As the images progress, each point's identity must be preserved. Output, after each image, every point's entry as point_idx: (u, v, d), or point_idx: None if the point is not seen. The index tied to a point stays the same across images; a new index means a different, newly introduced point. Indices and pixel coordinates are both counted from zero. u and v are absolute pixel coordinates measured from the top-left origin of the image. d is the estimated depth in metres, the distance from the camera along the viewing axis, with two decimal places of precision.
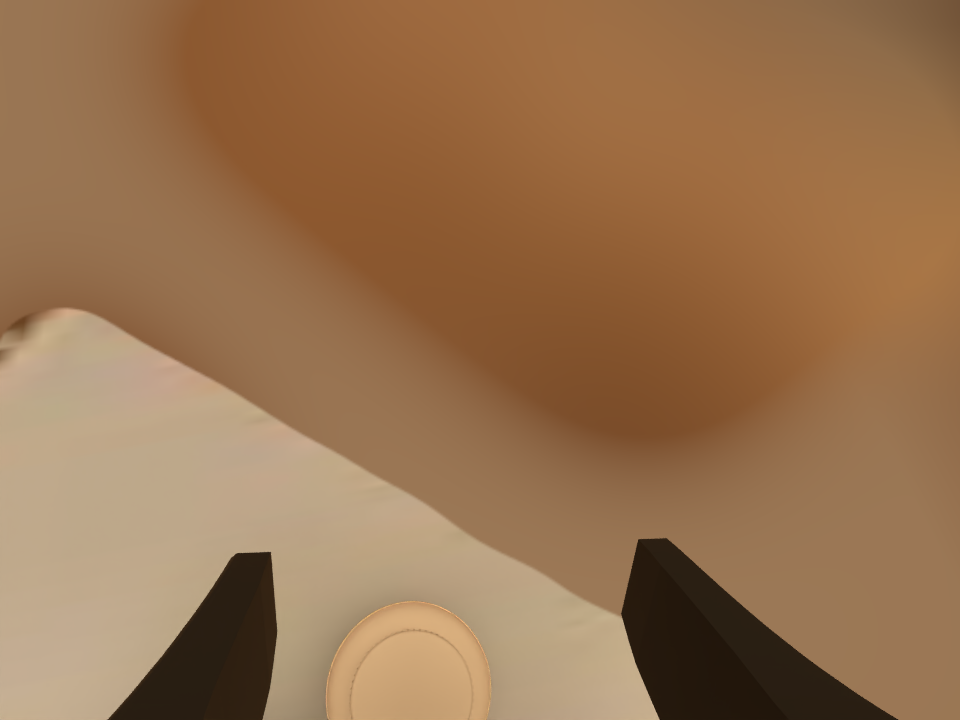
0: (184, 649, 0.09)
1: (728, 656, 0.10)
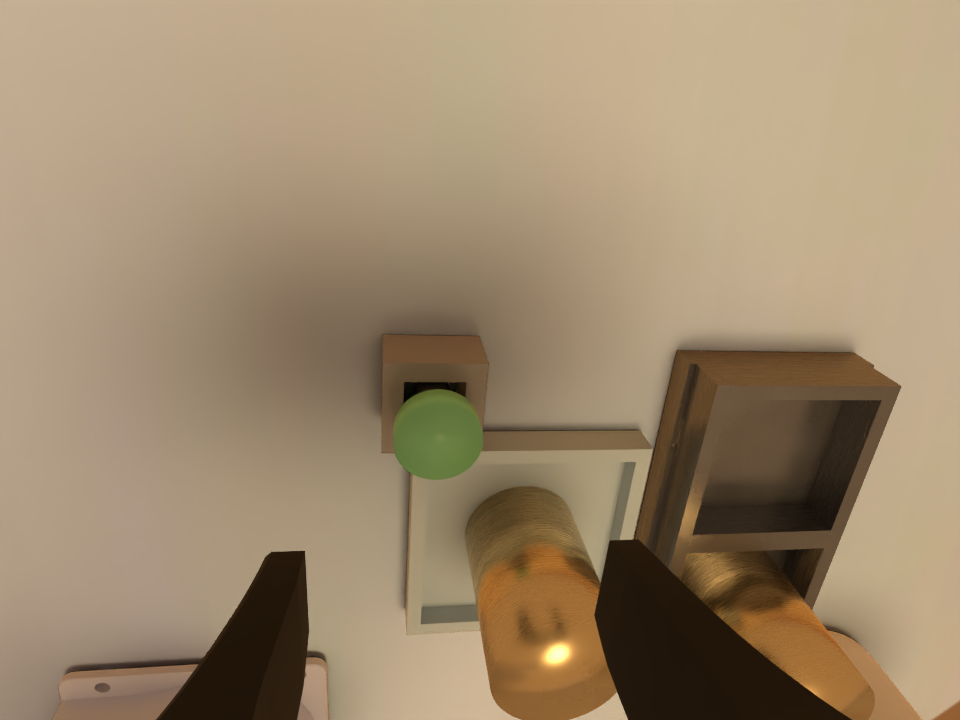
0: (228, 647, 0.09)
1: (692, 658, 0.10)
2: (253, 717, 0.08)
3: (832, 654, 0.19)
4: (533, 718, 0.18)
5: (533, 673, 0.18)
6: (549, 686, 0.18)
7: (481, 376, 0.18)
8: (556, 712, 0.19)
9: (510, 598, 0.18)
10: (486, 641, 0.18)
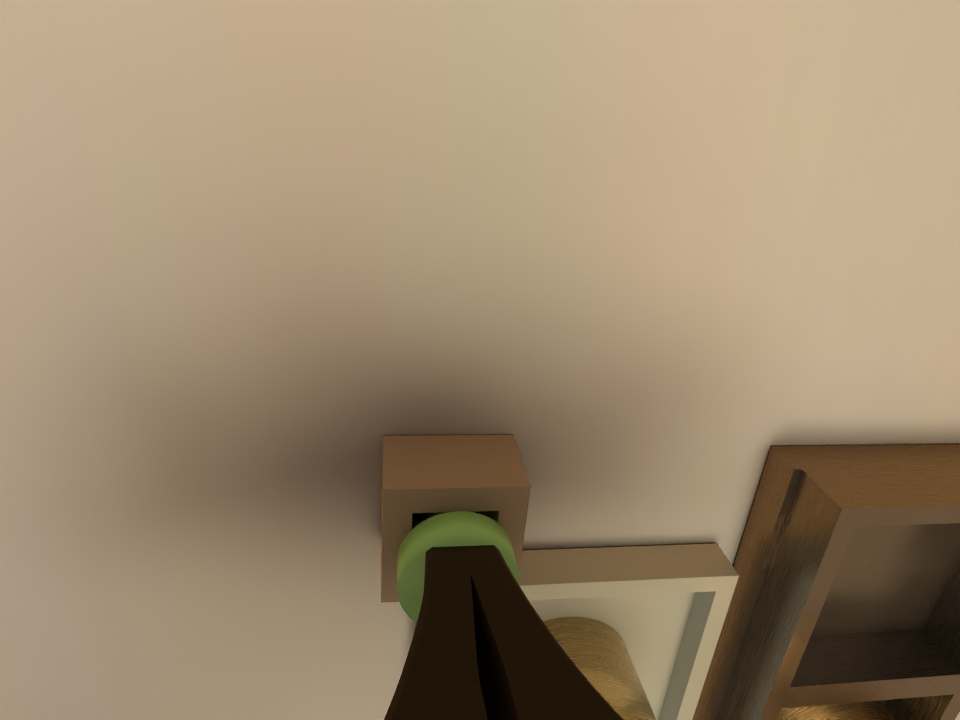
0: (432, 635, 0.10)
1: (502, 670, 0.09)
2: (483, 700, 0.08)
3: None
4: None
5: None
6: None
7: (519, 502, 0.13)
8: None
9: None
10: None
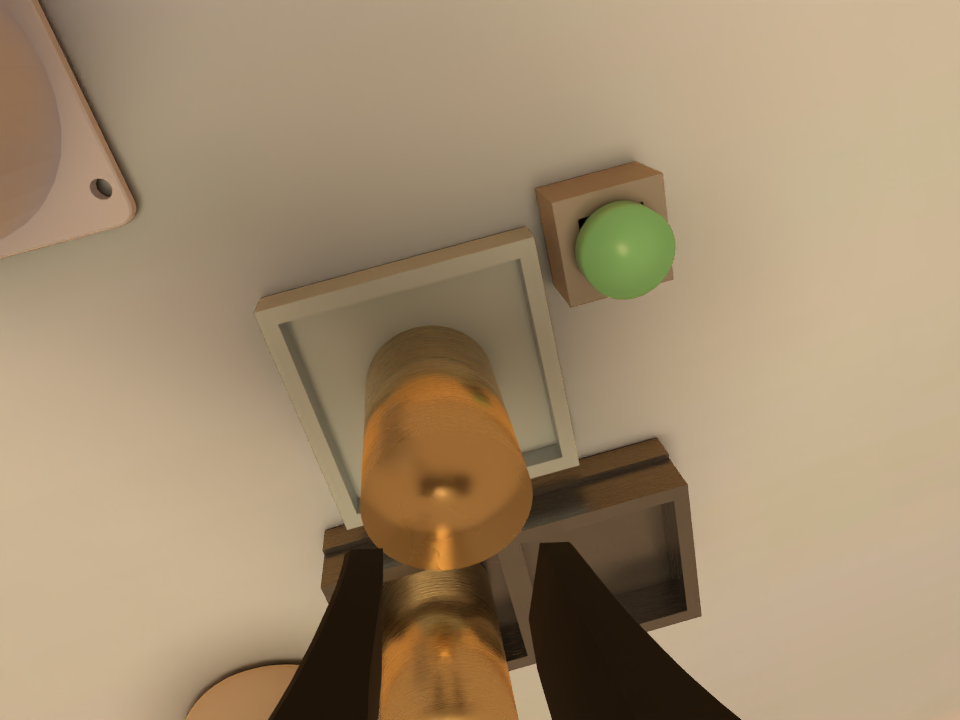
0: (329, 641, 0.09)
1: (601, 664, 0.09)
2: (367, 709, 0.08)
3: None
4: (366, 505, 0.14)
5: (443, 475, 0.14)
6: (425, 500, 0.15)
7: None
8: (382, 525, 0.15)
9: (488, 409, 0.15)
10: (435, 408, 0.15)
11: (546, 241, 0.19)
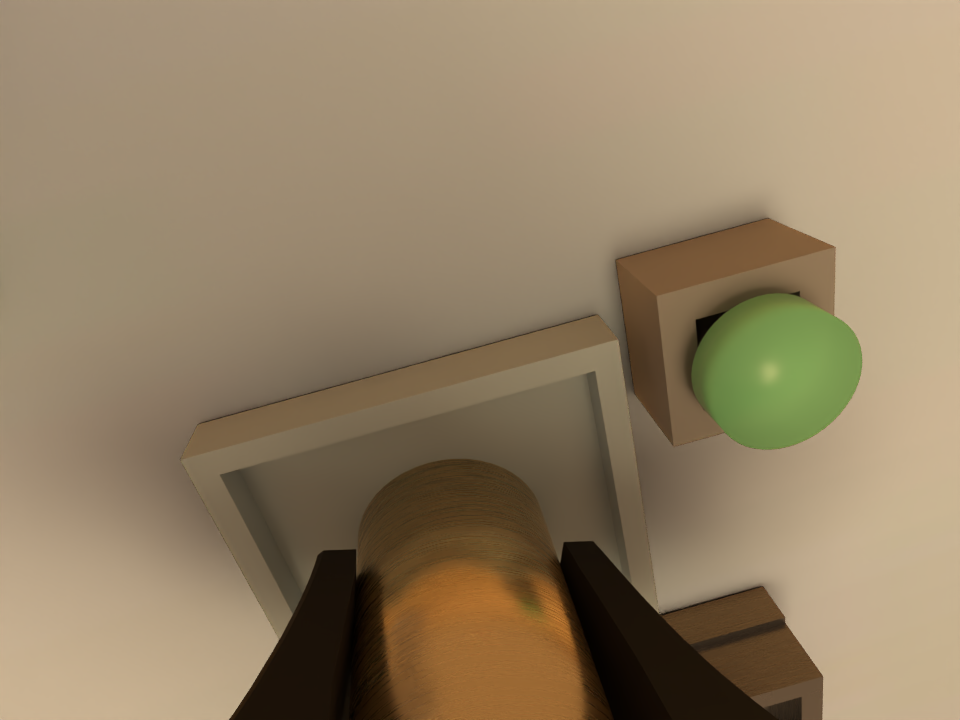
0: (295, 643, 0.09)
1: (633, 663, 0.09)
2: (329, 711, 0.08)
3: None
4: None
5: None
6: None
7: None
8: None
9: (561, 656, 0.09)
10: (474, 674, 0.08)
11: (629, 336, 0.13)
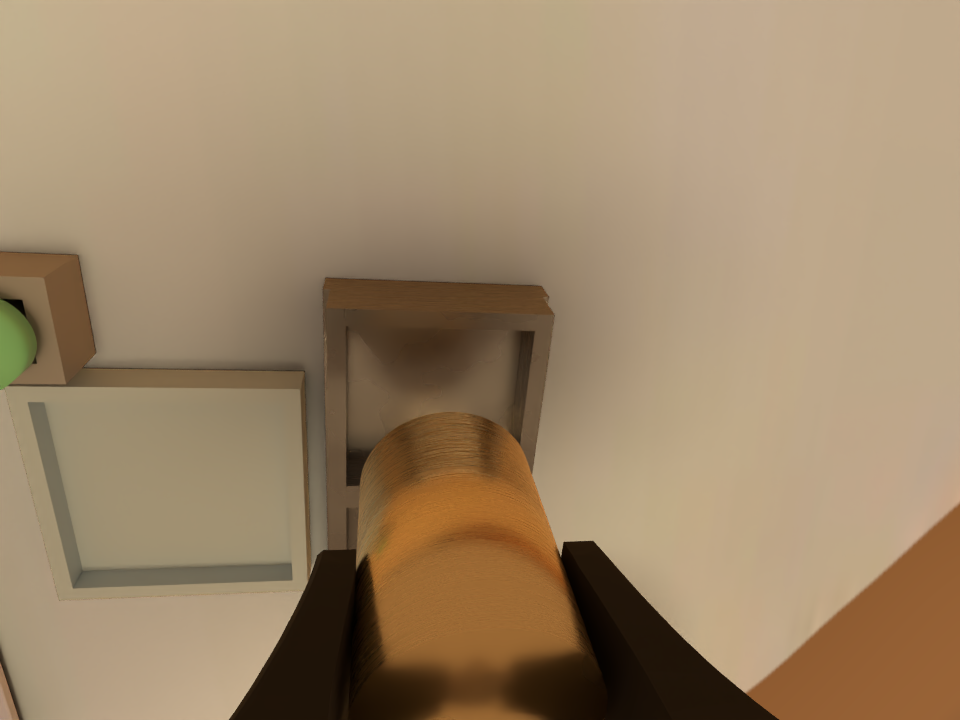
0: (295, 643, 0.09)
1: (633, 662, 0.09)
2: (329, 711, 0.08)
3: None
4: None
5: (467, 690, 0.09)
6: None
7: (38, 292, 0.16)
8: None
9: (526, 563, 0.10)
10: (445, 581, 0.10)
11: None
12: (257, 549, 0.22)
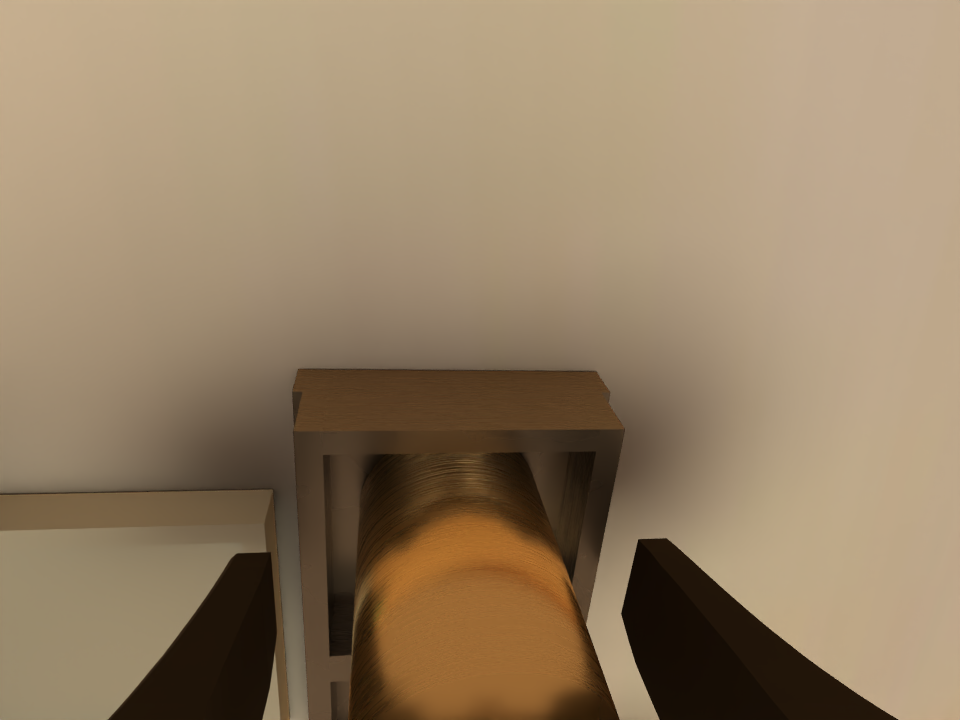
0: (184, 649, 0.09)
1: (728, 656, 0.10)
2: None
3: None
4: None
5: None
6: None
7: None
8: None
9: (537, 597, 0.10)
10: (450, 618, 0.09)
11: None
12: None
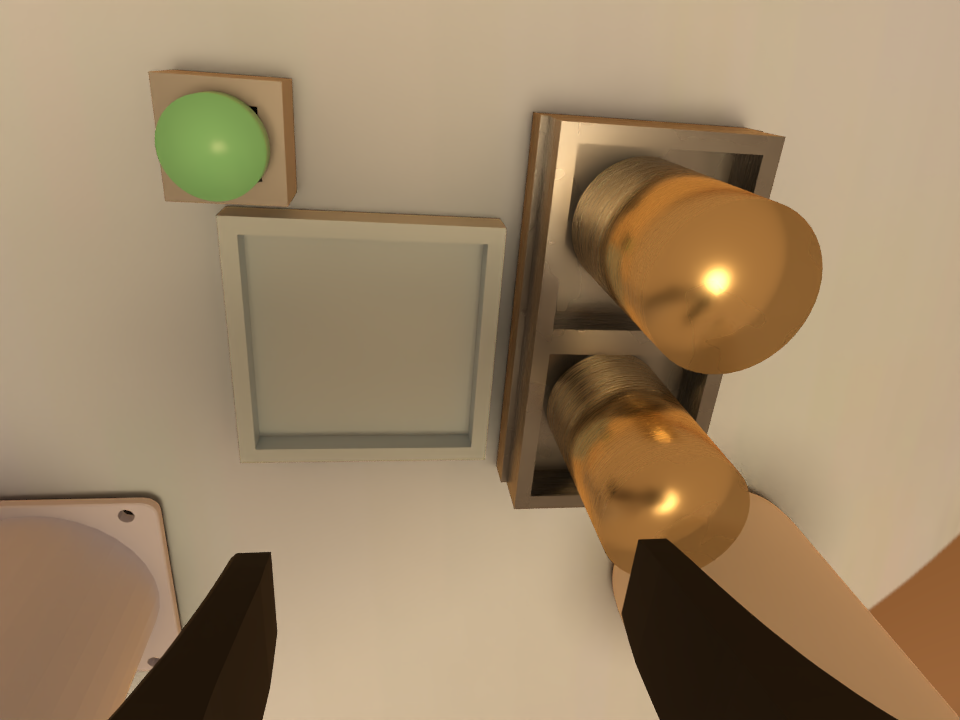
0: (184, 649, 0.09)
1: (729, 655, 0.10)
2: None
3: (699, 441, 0.16)
4: (652, 299, 0.14)
5: (732, 257, 0.14)
6: (712, 289, 0.14)
7: (274, 99, 0.16)
8: (666, 322, 0.14)
9: None
10: (709, 191, 0.14)
11: None
12: (433, 417, 0.22)
